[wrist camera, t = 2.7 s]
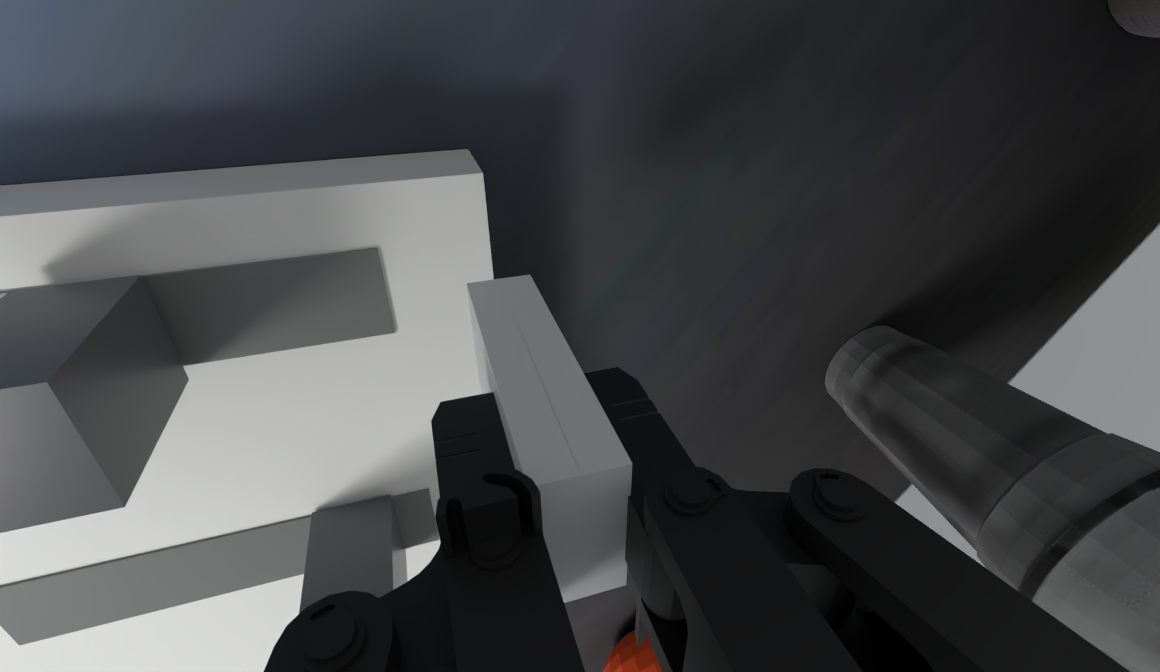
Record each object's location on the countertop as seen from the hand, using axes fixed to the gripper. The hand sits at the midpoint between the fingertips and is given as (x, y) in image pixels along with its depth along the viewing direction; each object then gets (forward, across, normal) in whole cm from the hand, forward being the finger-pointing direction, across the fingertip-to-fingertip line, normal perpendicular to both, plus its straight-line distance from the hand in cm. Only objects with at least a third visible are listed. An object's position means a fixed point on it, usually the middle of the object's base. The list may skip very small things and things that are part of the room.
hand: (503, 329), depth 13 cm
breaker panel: (+6, -9, -9) cm, 14 cm away
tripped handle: (+3, -9, 0) cm, 10 cm away
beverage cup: (+7, +19, -9) cm, 22 cm away
